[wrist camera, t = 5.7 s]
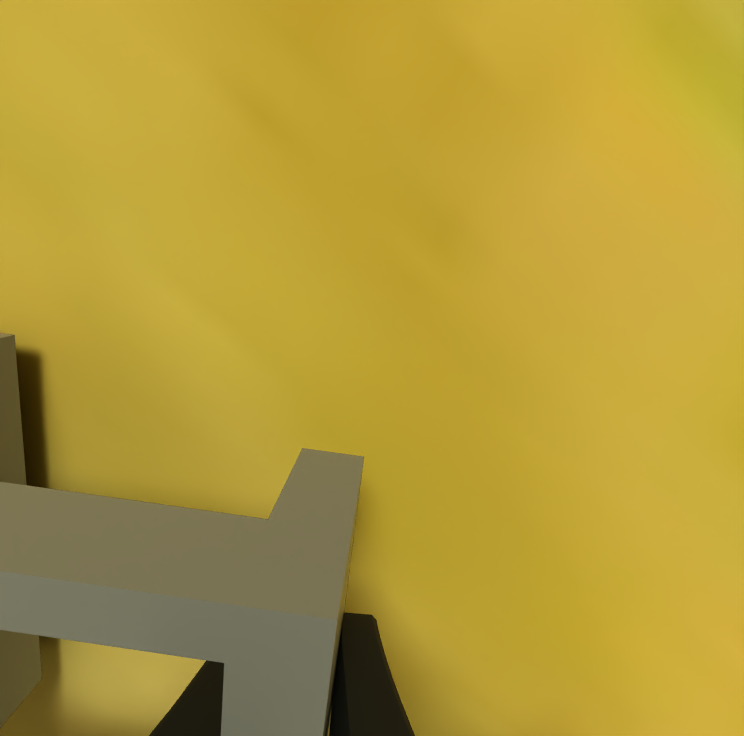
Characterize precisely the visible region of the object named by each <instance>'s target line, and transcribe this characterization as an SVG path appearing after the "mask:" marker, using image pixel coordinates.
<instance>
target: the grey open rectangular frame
mask: <svg viewBox="0 0 744 736" xmlns="http://www.w3.org/2000/svg"><path fill="white" fill-rule="evenodd" d="M363 461H364V457H362V456H355V455H348V454H341V453H333V452H326V451H319V450H311V449H304V448H302V450H301V452H300V454H299V456H298V458H297V461H296V463H295V465H294V467H293V469H292V471H291V473H290V475H289V477H288V479H287V481H286V483H285V485H284V487H283V490H282V492H281V494H280V496H279V498H278V500H277V502H276V504H275V506H274V508H273V510H272V512H271V514H270V516H269V519H262V518H255V517H248V516H240V515H233V514H226V513H219V512H212V511H205V510H198V509H191V508H184V507H177V506H169V505H162V504H155V503H148V502H141V501H134V500H127V499H120V498H113V497H105V496H98V495H91V494H84V493H77V492H70V491H63V490H56V489H49V488H42V487H34V486H27V484H26V472H25V459H24V447H23V434H22V422H21V410H20V397H19V385H18V372H17V360H16V348H15V335H12V334H4V333H0V728H1V727H2V725H3V724H4V723H5V722H6V721H7V719H8V718H9V717H10V716H11V715H12V713H13V712H14V711H15V710H16V709H17V707H18V706H19V705H20V704H21V703H22V701H23V700H24V699H25V698H26V697H27V695H28V694H29V693H30V692H31V691H32V689H33V688H34V687H35V686H36V685H37V683H38V682H39V681H40V680H41V679H42V670H41V658H40V646H39V636H46V637H52V638H59V639H66V640H73V641H79V642H86V643H93V644H100V645H106V646H113V647H120V648H127V649H133V650H140V651H147V652H154V653H160V654H167V655H174V656H181V657H187V658H194V659H201V660H208V661H214V662H221V663H224V680H223V701H222V721H221V736H328V734H329V726H330V718H331V706H332V698H333V691H334V683H335V675H336V667H337V659H338V652H339V644H340V636H341V628H342V620H343V614H344V609H345V601H346V594H347V586H348V578H349V570H350V563H351V555H352V547H353V539H354V531H355V524H356V516H357V508H358V500H359V492H360V485H361V477H362V469H363Z"/></svg>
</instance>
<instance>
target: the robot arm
mask: <svg viewBox="0 0 744 736" xmlns="http://www.w3.org/2000/svg"><path fill="white" fill-rule="evenodd" d="M223 680H224V663H221V662H214V661H208V660H206V662H205V663H204V665H203V666H202V667H201V669H200V670H199V671H198V673H197V674H196V676H195V677H194V678H193V680H192V681H191V682H190V684H189V685H188V686H187V688H186V689H185V690H184V692H183V693H182V695H181V696H180V697H179V699H178V700H177V701H176V703H175V704H174V705H173V706H172V708H171V709H170V710H169V712H168V713H167V714H166V715H165V716H164V718H163V719H162V720H161V721H160V723H159V724H158V725H157V726H156V728H155V729H154V730H153V731H152V733H151V734H150V735H149V736H221V721H222V701H223ZM329 736H415V735H414V732H413V730H412V728H411V725H410V723H409V720H408V718H407V715H406V712H405V710H404V707H403V705H402V702H401V700H400V697H399V694H398V692H397V689H396V686H395V683H394V681H393V678H392V675H391V672H390V669H389V666H388V663H387V660H386V656H385V653H384V650H383V646H382V642H381V639H380V635H379V631H378V626H377V621H376V619H375V618H374V617H373V616H372V615H366V614H354V613H344V614H343V620H342V628H341V636H340V644H339V652H338V659H337V667H336V675H335V683H334V691H333V698H332V706H331V719H330V733H329Z"/></svg>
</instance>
